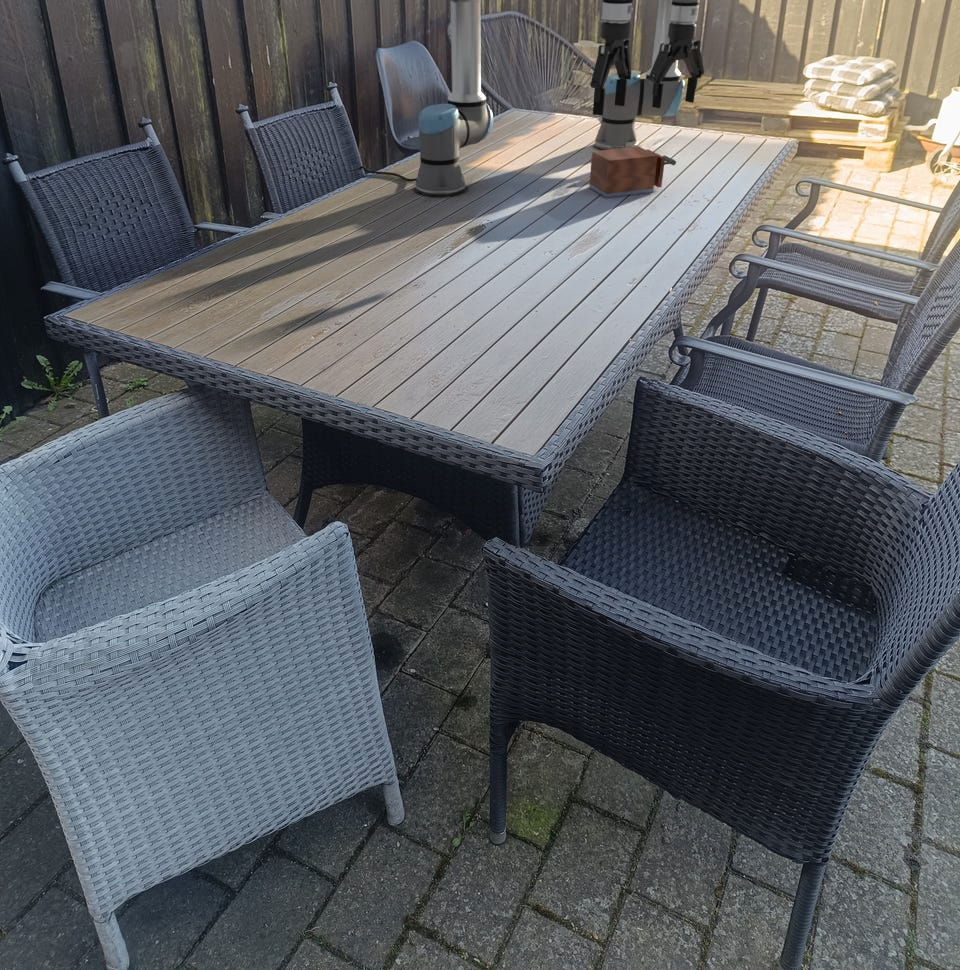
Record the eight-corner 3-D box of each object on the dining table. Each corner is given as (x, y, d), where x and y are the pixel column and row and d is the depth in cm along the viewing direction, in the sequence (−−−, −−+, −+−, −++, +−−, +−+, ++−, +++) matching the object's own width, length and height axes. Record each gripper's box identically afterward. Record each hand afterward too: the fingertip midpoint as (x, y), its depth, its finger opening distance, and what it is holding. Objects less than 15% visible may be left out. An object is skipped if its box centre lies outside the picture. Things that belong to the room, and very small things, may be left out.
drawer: (660, 176, 267) (663, 147, 262) (676, 185, 259) (680, 155, 254) (603, 183, 261) (605, 153, 256) (618, 192, 253) (621, 162, 248)
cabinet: (635, 181, 265) (639, 146, 259) (653, 192, 257) (657, 155, 250) (589, 187, 261) (591, 151, 254) (606, 197, 252) (609, 160, 246)
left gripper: (608, 28, 206) (601, 120, 218) (649, 16, 223) (640, 103, 235) (581, 25, 209) (575, 117, 221) (623, 15, 226) (615, 100, 238)
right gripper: (660, 27, 226) (651, 112, 238) (724, 20, 238) (712, 101, 250) (641, 24, 231) (632, 107, 243) (704, 17, 243) (693, 97, 255)
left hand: (608, 110), depth 228 cm, fingers open, 13 cm apart
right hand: (672, 104), depth 247 cm, fingers open, 13 cm apart
